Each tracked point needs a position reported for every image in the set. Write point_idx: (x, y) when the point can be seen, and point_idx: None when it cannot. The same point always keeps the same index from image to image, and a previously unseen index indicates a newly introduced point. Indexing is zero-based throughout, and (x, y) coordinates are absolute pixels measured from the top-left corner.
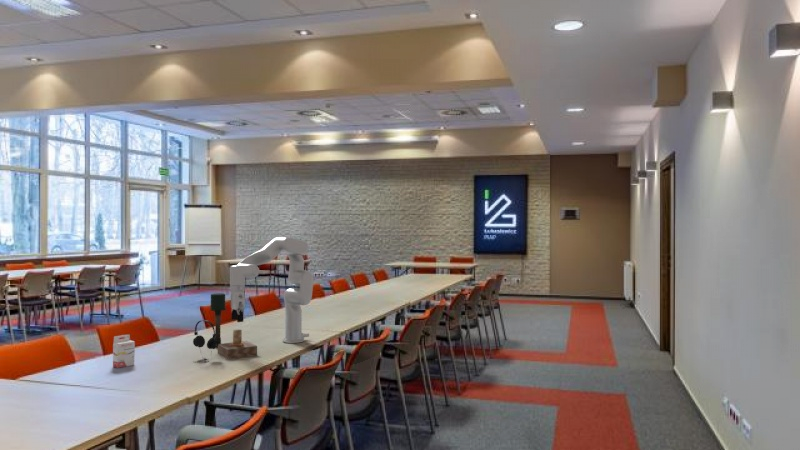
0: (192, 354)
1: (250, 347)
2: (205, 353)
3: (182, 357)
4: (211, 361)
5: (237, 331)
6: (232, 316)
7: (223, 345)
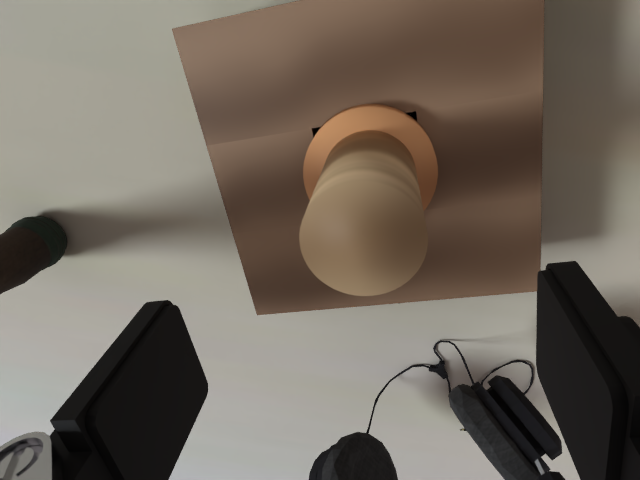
0: (246, 400)
1: (541, 44)
2: (243, 337)
3: (309, 450)
4: (518, 347)
5: (424, 246)
6: (185, 432)
7: None
